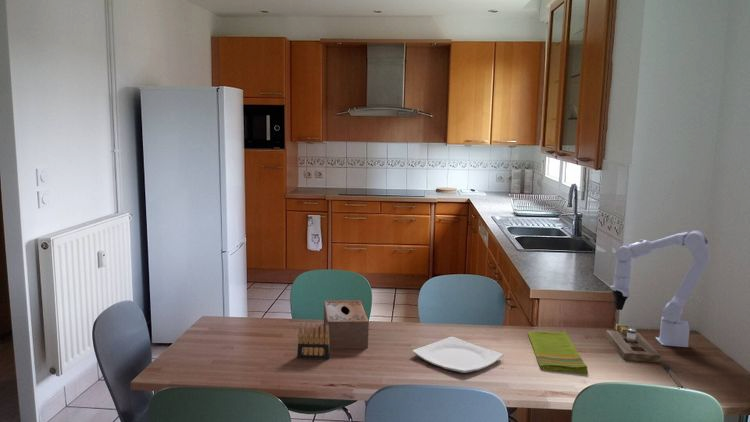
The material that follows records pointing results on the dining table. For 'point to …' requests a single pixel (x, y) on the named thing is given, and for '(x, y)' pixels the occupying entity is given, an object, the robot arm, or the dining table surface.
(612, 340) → the board
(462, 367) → the plate
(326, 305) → the tissue box cover
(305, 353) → the ammunition clip
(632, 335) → the peg
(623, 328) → the key
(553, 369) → the dish towel
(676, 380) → the tactical tomahawk
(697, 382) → the dining table surface
